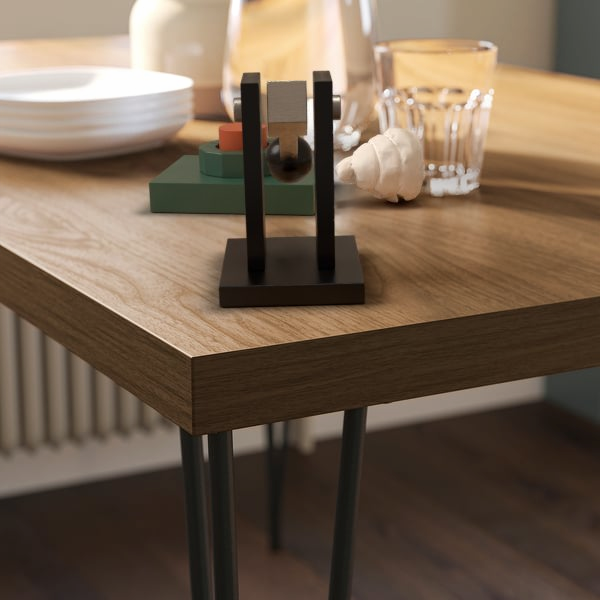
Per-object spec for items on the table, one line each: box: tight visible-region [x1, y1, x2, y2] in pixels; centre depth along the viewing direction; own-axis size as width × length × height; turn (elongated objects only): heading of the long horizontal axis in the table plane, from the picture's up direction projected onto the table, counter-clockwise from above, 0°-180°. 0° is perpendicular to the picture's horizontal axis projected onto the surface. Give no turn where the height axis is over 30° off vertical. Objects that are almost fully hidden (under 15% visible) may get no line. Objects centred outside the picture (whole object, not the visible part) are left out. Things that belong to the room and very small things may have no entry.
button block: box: [148, 137, 315, 216], centre depth 89 cm, size 12×10×4 cm
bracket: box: [218, 70, 366, 308], centre depth 67 cm, size 10×8×12 cm
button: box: [218, 122, 268, 151], centre depth 88 cm, size 4×4×2 cm
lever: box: [265, 79, 314, 183], centre depth 72 cm, size 14×3×3 cm, turn 0°
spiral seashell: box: [334, 126, 425, 203], centre depth 86 cm, size 6×6×5 cm
